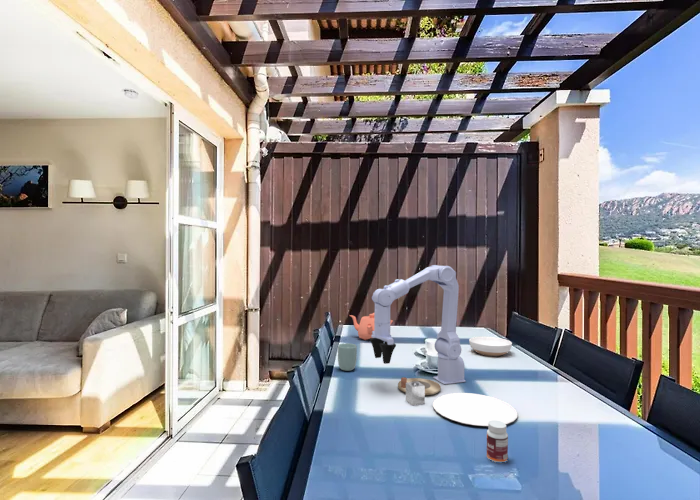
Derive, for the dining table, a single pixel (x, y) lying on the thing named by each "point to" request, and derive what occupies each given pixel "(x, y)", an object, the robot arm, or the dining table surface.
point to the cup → (347, 356)
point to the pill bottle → (497, 441)
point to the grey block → (415, 393)
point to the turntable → (429, 385)
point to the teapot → (365, 326)
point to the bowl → (490, 345)
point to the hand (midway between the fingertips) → (382, 360)
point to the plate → (474, 409)
